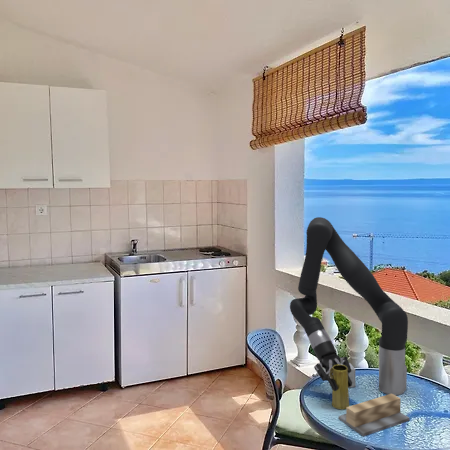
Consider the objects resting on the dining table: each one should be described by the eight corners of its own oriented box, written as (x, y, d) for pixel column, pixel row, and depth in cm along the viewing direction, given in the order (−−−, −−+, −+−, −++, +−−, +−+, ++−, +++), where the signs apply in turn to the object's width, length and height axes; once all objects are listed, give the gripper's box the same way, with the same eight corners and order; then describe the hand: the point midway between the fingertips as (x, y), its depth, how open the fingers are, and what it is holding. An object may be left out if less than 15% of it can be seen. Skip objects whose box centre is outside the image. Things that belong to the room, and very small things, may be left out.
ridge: (383, 404, 168) (383, 388, 167) (409, 420, 157) (409, 403, 156) (338, 418, 159) (338, 402, 158) (363, 436, 148) (363, 418, 148)
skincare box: (355, 387, 181) (355, 369, 180) (340, 388, 181) (340, 370, 180) (350, 380, 187) (350, 362, 186) (335, 381, 187) (335, 363, 186)
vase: (349, 410, 164) (349, 371, 162) (331, 409, 166) (331, 371, 163) (348, 401, 170) (348, 364, 168) (331, 400, 171) (330, 363, 169)
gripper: (310, 343, 169) (331, 388, 160) (341, 336, 175) (364, 379, 166) (302, 353, 174) (322, 397, 165) (332, 345, 180) (354, 387, 171)
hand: (343, 388), depth 165 cm, fingers closed on vase, 5 cm apart
